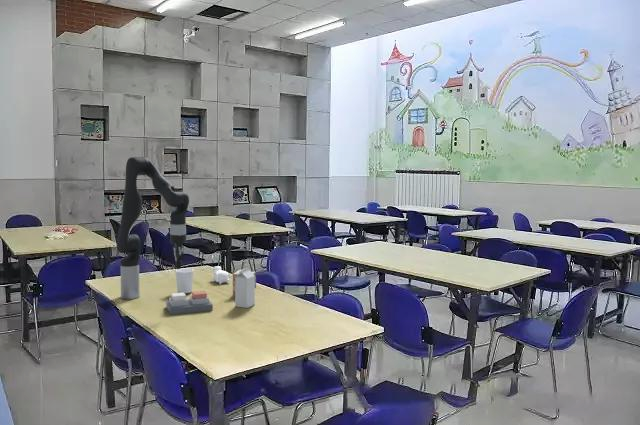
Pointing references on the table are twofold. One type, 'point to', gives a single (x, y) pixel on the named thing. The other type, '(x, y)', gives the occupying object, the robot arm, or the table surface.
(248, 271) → the milk carton
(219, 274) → the white animal figurine
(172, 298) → the ivory key
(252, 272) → the gray gift bag
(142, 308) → the table surface
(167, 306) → the key base
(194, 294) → the red key
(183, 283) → the cup
